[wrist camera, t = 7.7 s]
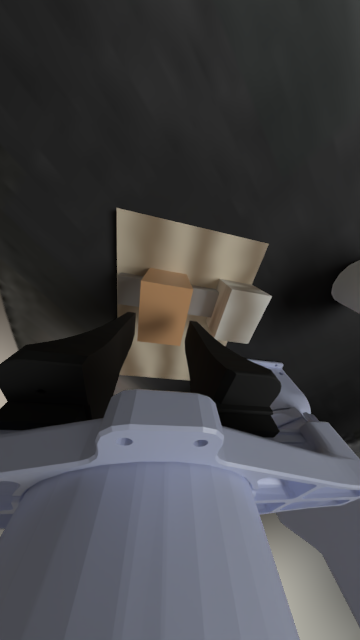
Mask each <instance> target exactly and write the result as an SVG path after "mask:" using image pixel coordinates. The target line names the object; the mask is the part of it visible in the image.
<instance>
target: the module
mask: <svg viewBox="0 0 360 640" xmlns="http://www.w3.org/2000/svg"><path fill="white" fill-rule="evenodd" d="M192 293H193V288H192V285H191V283H190V281H189V279H188V277H187V274H182V273H176V272H171V271H165V270H160V269H154V268H149V270H148V271H147V273H146V274H145V275H144V277H143V278H142V280H141V287H140V304H139V320H138V337H137V341H139V342H148V343H157V344H166V345H175V346H180V345H181V340H182V336H183V332H184V327H185V323H186V319H187V315H188V310H189V306H190V302H191V297H192Z"/></svg>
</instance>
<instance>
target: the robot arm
mask: <svg viewBox="0 0 360 640" xmlns="http://www.w3.org/2000/svg"><path fill="white" fill-rule="evenodd" d="M135 321H136V313H134V312H126V313H125V314H123V315H121V316H120V317H118V318H116V319H115V320H113V321H111V322H109V323H107V324H105V325H103V326H101V327H99V328H96V329H94V330H91V331H89V332H85V333H82V334H79V335H76V336H72V337H68V338H64V339H59V340H54V341H49V342H42V343H36V344H29V345H25V346H24V347H23V348H21V349H20V350H19V351H17V352H16V353H14V354H13V355H12V356H11V357H9V358H8V359H6V360H5V361H4V362H2V363H1V364H0V389H1V390H2V392H3V394H4V396H5V397H6V399H7V401H8V402H7V403H6V404H5V405H4V406H3V407H2V408H1V409H0V529H5V530H4V531H3V534H2V535H1V537H0V640H300V639H299V636H298V633H297V630H296V626H295V623H294V620H293V617H292V614H291V611H290V608H289V605H288V602H287V599H286V595H285V593H284V589H283V586H282V583H281V580H280V577H279V574H278V571H277V568H276V565H275V561H274V558H273V555H272V552H271V549H270V546H269V543H268V540H267V537H266V534H265V530H264V528H263V524H262V522H261V518H260V514H267V513H276V515H277V516H278V518H279V520H280V522H281V523H282V524H283V525H285V526H286V527H288V528H289V529H290V530H291V531H293V532H294V533H295V534H297V535H298V536H300V537H301V538H302V539H304V540H305V541H306V542H308V543H309V544H310V545H312V546H313V547H315V548H316V549H317V550H318V551H319V552H320V553H321V554H322V555H323V557H324V559H325V561H326V563H327V565H328V567H329V569H330V571H331V572H332V575H333V576H334V578H335V580H336V582H337V584H338V586H339V588H340V590H341V592H342V594H343V596H344V598H345V600H346V602H347V604H348V606H349V607H350V610H351V611H352V614H353V616H354V617H355V619H356V621H357V623H358V625H359V627H360V459H359V458H358V457H357V456H356V455H355V453H354V452H353V451H352V450H351V449H350V447H349V446H348V445H347V444H346V443H345V442H344V440H343V439H342V438H341V437H340V436H339V435H338V433H337V432H336V431H335V430H334V429H333V428H332V426H331V425H330V424H329V423H328V422H319V421H318V419H317V418H316V417H315V416H314V415H312V414H311V410H310V406H309V403H308V401H307V399H306V397H305V396H304V394H303V393H302V392H301V391H300V390H299V388H298V387H297V386H296V385H295V384H294V383H293V381H292V380H291V379H290V378H289V377H288V376H287V374H286V373H285V372H284V371H283V370H282V367H283V364H282V363H279V362H270V361H261V360H252V359H245V358H243V357H241V356H240V355H238V354H236V353H235V352H233V351H231V350H230V349H228V348H227V347H225V346H224V345H222V344H221V343H220V342H218V341H217V340H216V339H215V338H214V337H213V336H212V335H210V334H209V333H208V332H207V331H206V330H205V329H204V328H203V327H202V326H201V325H200V324H199V323H198V322H197V321H189V325H188V329H187V333H186V337H185V354H186V359H187V365H188V370H189V376H190V388H191V393H188V392H173V391H159V390H145V389H132V390H124V391H122V392H120V393H118V394H116V395H114V396H113V393H114V390H115V387H116V383H117V380H118V377H119V374H120V371H121V368H122V366H123V364H124V361H125V359H126V357H127V355H128V352H129V350H130V348H131V345H132V342H133V339H134V335H135Z"/></svg>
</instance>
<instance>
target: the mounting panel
mask: <svg viewBox="0 0 360 640" xmlns="http://www.w3.org/2000/svg"><path fill="white" fill-rule="evenodd" d="M268 245H269V244H267V243H263V242H259V241H254V240H250V239H246V238H242V237H237V236H233V235H229V234H225V233H220V232H216V231H212V230H208V229H204V228H199V227H195V226H191V225H187V224H182V223H178V222H174V221H170V220H165V219H161V218H157V217H153V216H149V215H144V214H140V213H136V212H132V211H127V210H123V209H119V208H117V318H118V317H120V316H121V315H123V314H125V313H126V312H134V313H136V321H135V335H134V339H133V342H132V345H131V348H130V350H129V352H128V355H127V357H126V359H125V361H124V364H123V366H122V368H121V371H120V374H119V375H130V376H142V377H154V378H166V379H178V380H190V376H189V370H188V365H187V359H186V354H185V337H186V333H187V329H188V325H189V321H197V322H198V323H199V324H200V325H201V326H202V327H203V328H204V329H205V330H206V331H207V332H208V333H209V334H210V335H212V336H213V337H214V338H215V339H216V340H217V341H218V342H220V343H221V344H222V345H224V346H226V344H227V341H230V342H238V343H246V344H248V343H249V341H250V339H251V337H252V335H253V333H254V331H255V329H256V327H257V325H258V323H259V321H260V319H261V317H262V315H263V313H264V311H265V309H266V307H267V305H268V304H269V302H270V300H271V298H272V296H271V295H269V294H267V293H265V292H264V291H262V290H260V289H258V288H257V287H255V286H253V285H252V282H253V280H254V278H255V275H256V273H257V271H258V268H259V266H260V263H261V261H262V259H263V256H264V254H265V252H266V249H267V247H268ZM149 268H154V269H160V270H165V271H171V272H176V273H182V274H187V277H188V279H189V281H190V283H191V285H192V288H193V293H192V297H191V302H190V306H189V310H188V315H187V319H186V323H185V327H184V332H183V336H182V340H181V345H180V346H175V345H166V344H157V343H148V342H139V341H137V337H138V320H139V304H140V287H141V280H142V278H143V277H144V275H145V274H146V273H147V271H148V270H149Z"/></svg>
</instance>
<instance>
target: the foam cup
mask: <svg viewBox="0 0 360 640" xmlns="http://www.w3.org/2000/svg"><path fill="white" fill-rule="evenodd" d="M331 294H332V296H333V298H334V300H336V301H338V302H339V303H341V304H343V305H344V306H346V307H348V308H350V309H352V310H354V311H355V312H357V313H359V314H360V260H359V261H357V262H355V263H353V264H351V265H349V266H348V267H347V268H346V269H344V270H343V271H342V272H341V273H340V274H339V275H338V277H337V279H336V280H335V282H334V283H333V287H332V292H331Z"/></svg>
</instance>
